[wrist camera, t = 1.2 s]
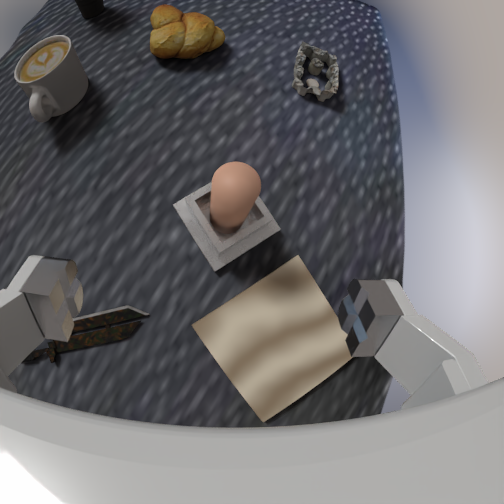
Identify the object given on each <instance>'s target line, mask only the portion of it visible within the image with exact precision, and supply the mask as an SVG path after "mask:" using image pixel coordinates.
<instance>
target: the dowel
mask: <svg viewBox="0 0 504 504" xmlns="http://www.w3.org/2000/svg"><path fill="white" fill-rule="evenodd" d="M260 190H261V181H260V178H259V175H258V174H257V172H256V171H255V170H254V169H253V168H252V167H251V166H249V165H247V164H245V163H242V162H230V163H226V164H224V165H222V166H221V167H220V168H218V170H217V171H216V172H215V174H214V176H213V178H212V187H211V202H210V222H211V224H212V226H213V227H214V228H215V229H216V230H217V231H219V232H221V233H224V234H230V233H234V232H236V231H237V230H239V229H240V228H241V226H242V225H243V223H244V221H245V219H246V217H247V216H248V214H249V212H250V210H251V208H252V206H253V205H254V203H255V201H256V199H257V197H258V196H259V193H260Z"/></svg>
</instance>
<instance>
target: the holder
mask: <svg viewBox="0 0 504 504" xmlns="http://www.w3.org/2000/svg"><path fill="white" fill-rule="evenodd" d="M211 187H212V182H211V183H209V184H207V185H205V186H204V187H202V188H200V189H199V190H197V191H195V192H193V193H192V194H190V195H188V196H187V197H185V198H183V199H182V200H180V201H178V202H177V203H175V204H173V206H174V208H175V210H176V211H177V213H178V215H179V216H180V218H181V219H182V221H183V223H184V224H185V226H186V228H187V229H188V231H189V232H190V234H191V236H192V237H193V239H194V240H195V242H196V244H197V245H198V247H199V248H200V250H201V251H202V253H203V255H204V256H205V258H206V259H207V261H208V262H209V264H210V266H211V267H212V269H213V270H214V272H215V271H217V270H219V269H220V268H222V267H223V266H225V265H226V264H228V263H230V262H231V261H233V260H234V259H236V258H237V257H239V256H240V255H242V254H244V253H245V252H247V251H248V250H250V249H251V248H253V247H254V246H256V245H258V244H259V243H261V242H262V241H264V240H265V239H267V238H269V237H270V236H272V235H273V234H275V233H276V232H278V231H279V230H281V229H280V227H279V226H278V224H277V223H276V221H275V220H274V218H273V217H272V215H271V214H270V212H269V211H268V209H267V208H266V206H265V205H264V203H263V202H262V200H261V199H260V197H259V196H258V197H257V199H256V201H255V203H254V205H253V206H252V208H251V210H250V212H249V214H248V216H247V217H246V219H245V221H244V223H243V225H242V226H241V228H240V229H239V230H237V231H236V232H234V233H230V234H224V233H221V232H219V231H217V230H216V229H215V228H214V227H213V226H212V224H211V222H210V202H211Z"/></svg>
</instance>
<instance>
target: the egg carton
mask: <svg viewBox="0 0 504 504" xmlns="http://www.w3.org/2000/svg"><path fill="white" fill-rule="evenodd" d="M306 56H307V57H309V59H310V60H311V62H310V64H309V67H308V71H309V73H310V74H312V75H319V74H320V72H321V70H322V69H323V67H324V64H323V63H322V62H321V61H324V62H326V63H327V65H328V66H329V69H328V71H327V73H326V77H327V78H328V79H329V81H328V82H327V84H326V86H325V90H323V91H322V92H321V90H320V89H319V88H318V87H319V83H318V82H317V81H316V80H314V79H308V80H307V81H306V83H307V85H308V86H309V88H305V87H303V85H304V84H303V83H302V81H301V80H300V79H301V77H302V75H303V71H304V68H303V67H302V66H303V64H304V62H305V60H306ZM336 60H337V57H336V55H330V54H328V51H323V50H321V49H320V48H317V47H315V46H310V45H308V44H307V43H305V42H302V44H301V46H300V48H299V51H298V54H297V58H296V63H295V66H294V77H295V79H294V81H293V83H292V87H293V88H295V89H296V90H297V91H298V94H300V95H302V96H304V95H305V94H306V93H313V94H315V95H316V96H317V99H318V100H319V101H322V102H324V100H325V99H327V98H330V97H331V96H332V95H333V94H334V93H337V91H336V90H338V83H339V82H338V72H339V69H338V65H337V62H336Z"/></svg>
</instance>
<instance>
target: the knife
mask: <svg viewBox="0 0 504 504" xmlns="http://www.w3.org/2000/svg"><path fill="white" fill-rule="evenodd" d="M145 315H149V314H148V313H145V312H143V311H141V310H138V309H136V308H133V307H131V306H128V305H127V306H123V307H119V308H115V309H111V310H107V311H103V312H98V313H94V314H90V315H86V316H82V317H77V318H73V322H74V327H73V330H72V332H76V331H80V330H85V329H89V328H94V327H98V326H103V325H105V328H106V329H102V330H98V331H93V332H89V333H84V334H80V335H75V336H71V335H70V338H69V340H68V342H65V341H59V340H53V342H49V343H48V345H49V348H45V349H41V350H36V351H32V352H31V353H30V354H29V355H28V356H27V357H26V358H25V359H24V360H23V361H29V360H34V359H36V358H37V357H38V356H41V355H42V354H43V353H44V352H47V355H48V356H49V358H50V361H51V363H53V362H56V360H55V356H56V354H58V352H62V351H67V350H72V349H78V348H83V347H88V346H92V345H97V344H102V343H107V342H112V341H116V340H121V339H125V338H128V336H129V335H130V334H131V333H132V332H133V330H134V329H135V328H136V327H137V325H138V324H139V323H140V322H141V321H137V322H133V323H129V324H124V325H120V326H116V327H111V328H110V324H111V323H116V322H120V321H124V320H128V319H133V318H137V317H141V316H145ZM23 361H22V362H23Z"/></svg>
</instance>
